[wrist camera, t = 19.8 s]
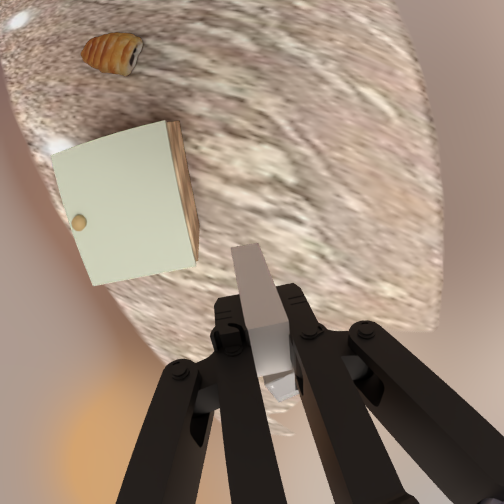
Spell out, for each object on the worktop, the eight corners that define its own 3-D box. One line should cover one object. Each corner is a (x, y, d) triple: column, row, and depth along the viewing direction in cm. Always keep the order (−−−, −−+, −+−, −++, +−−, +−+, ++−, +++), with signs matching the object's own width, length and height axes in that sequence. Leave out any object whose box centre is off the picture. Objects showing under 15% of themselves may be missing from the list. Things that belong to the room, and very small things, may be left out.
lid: (53, 154, 27) (47, 156, 25) (165, 120, 28) (163, 120, 27) (94, 282, 35) (91, 289, 34) (196, 263, 36) (196, 269, 35)
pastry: (80, 70, 32) (69, 68, 29) (94, 31, 29) (84, 26, 26) (132, 77, 34) (125, 75, 31) (147, 37, 32) (142, 31, 28)
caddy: (93, 143, 38) (58, 155, 27) (179, 120, 39) (168, 122, 28) (119, 241, 46) (98, 279, 35) (199, 225, 47) (197, 260, 36)
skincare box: (262, 346, 61) (277, 406, 47) (248, 325, 57) (262, 387, 43) (298, 330, 60) (322, 387, 46) (287, 307, 57) (311, 366, 43)
